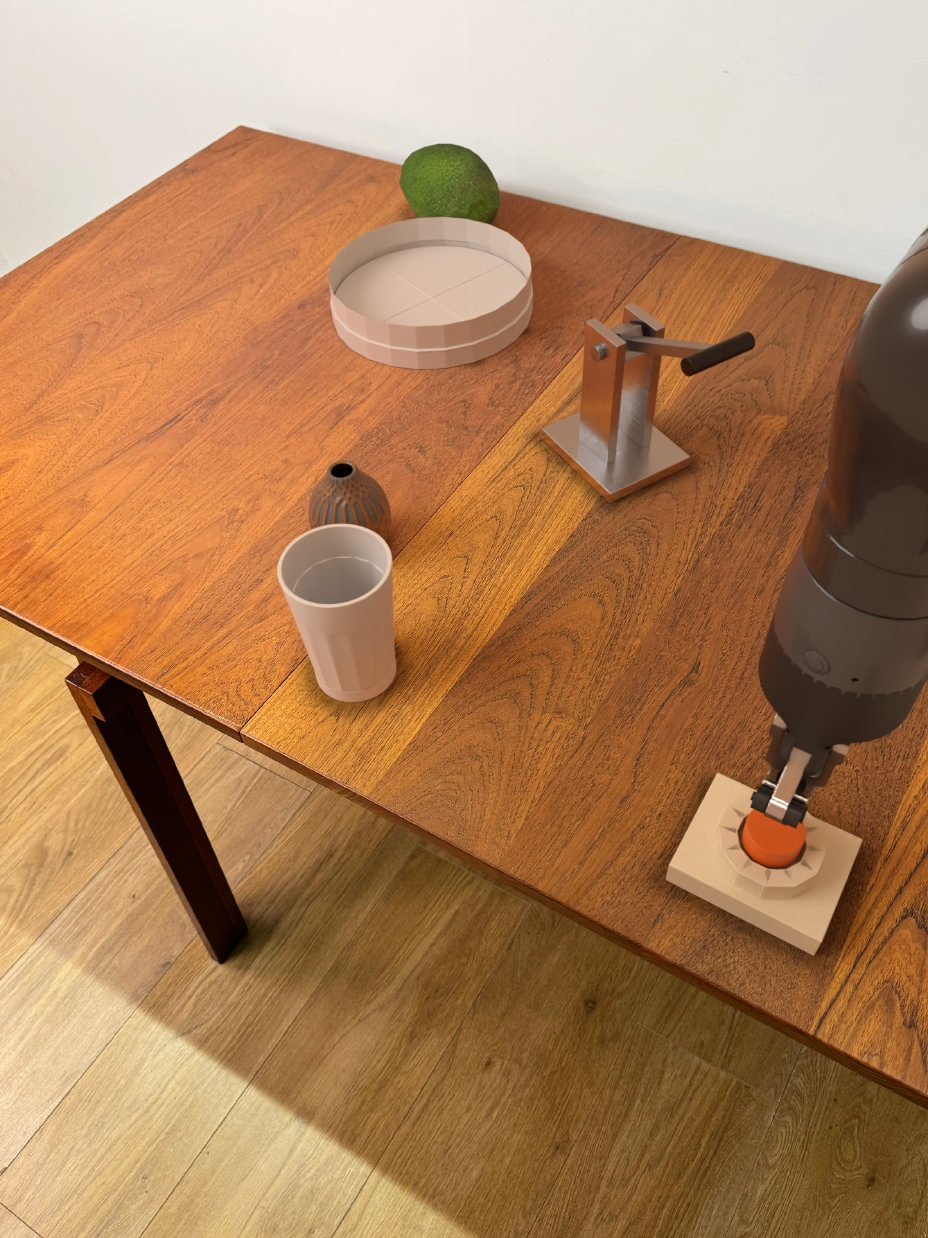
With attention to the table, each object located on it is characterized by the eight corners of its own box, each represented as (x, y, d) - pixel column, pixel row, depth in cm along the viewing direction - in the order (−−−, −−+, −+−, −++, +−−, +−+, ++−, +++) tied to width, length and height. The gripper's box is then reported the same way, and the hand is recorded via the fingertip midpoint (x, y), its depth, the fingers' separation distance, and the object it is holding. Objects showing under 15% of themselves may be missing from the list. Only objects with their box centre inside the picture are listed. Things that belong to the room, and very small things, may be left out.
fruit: (384, 213, 124) (375, 131, 117) (452, 190, 127) (448, 109, 120) (444, 266, 116) (439, 182, 108) (516, 240, 119) (516, 157, 111)
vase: (364, 507, 90) (351, 430, 83) (410, 547, 86) (401, 471, 80) (300, 543, 87) (282, 467, 81) (345, 587, 84) (330, 511, 77)
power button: (808, 832, 63) (814, 819, 62) (788, 877, 61) (794, 864, 60) (754, 807, 65) (759, 793, 63) (732, 850, 63) (737, 837, 61)
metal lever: (757, 356, 75) (753, 325, 74) (695, 384, 73) (690, 352, 72) (644, 342, 87) (639, 315, 86) (588, 366, 85) (582, 338, 84)
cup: (426, 653, 79) (414, 546, 70) (369, 727, 74) (348, 623, 65) (343, 616, 82) (321, 509, 72) (284, 685, 77) (253, 580, 68)
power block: (854, 855, 66) (870, 825, 63) (813, 956, 62) (828, 930, 59) (712, 788, 70) (721, 757, 67) (665, 880, 66) (672, 851, 62)
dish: (294, 305, 112) (286, 264, 108) (449, 236, 120) (447, 196, 116) (412, 397, 100) (408, 354, 96) (575, 313, 108) (577, 271, 105)
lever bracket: (689, 466, 92) (711, 337, 81) (609, 503, 89) (622, 375, 78) (616, 404, 98) (628, 277, 87) (540, 438, 95) (543, 310, 85)
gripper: (896, 765, 42) (803, 932, 55) (975, 565, 49) (875, 755, 62) (727, 692, 45) (677, 868, 58) (824, 512, 52) (760, 706, 65)
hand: (780, 809), depth 60 cm, fingers closed
